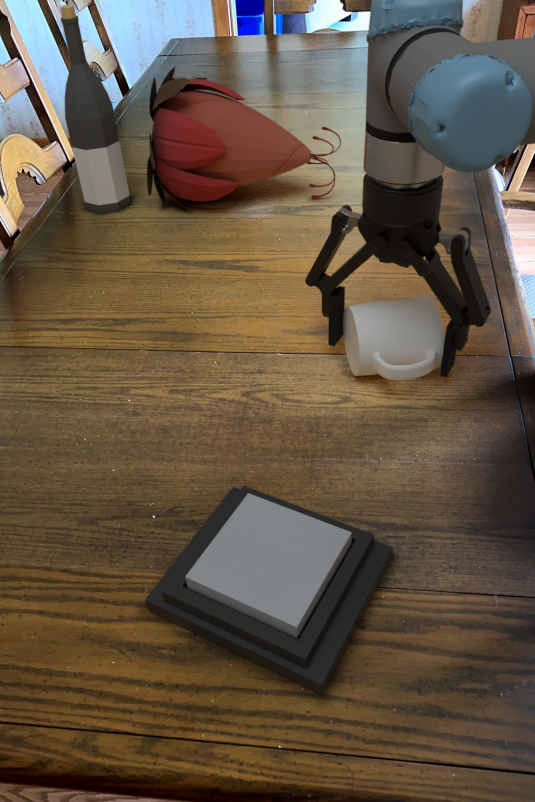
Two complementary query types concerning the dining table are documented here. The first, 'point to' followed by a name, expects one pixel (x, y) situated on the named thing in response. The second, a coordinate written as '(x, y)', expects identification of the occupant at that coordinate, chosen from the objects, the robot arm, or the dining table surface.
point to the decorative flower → (215, 142)
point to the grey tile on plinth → (270, 563)
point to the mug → (394, 337)
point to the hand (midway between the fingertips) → (389, 354)
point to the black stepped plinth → (256, 641)
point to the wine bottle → (92, 128)
